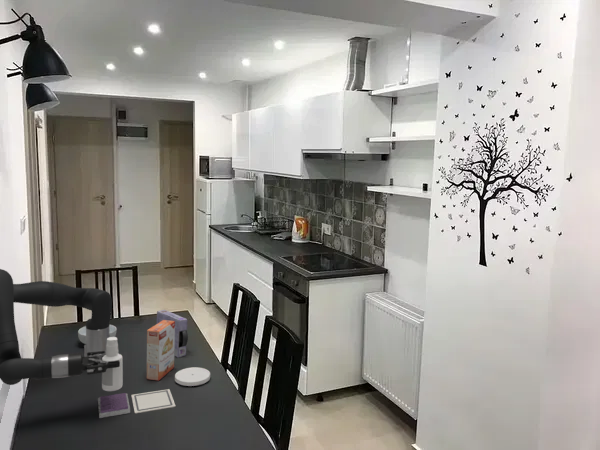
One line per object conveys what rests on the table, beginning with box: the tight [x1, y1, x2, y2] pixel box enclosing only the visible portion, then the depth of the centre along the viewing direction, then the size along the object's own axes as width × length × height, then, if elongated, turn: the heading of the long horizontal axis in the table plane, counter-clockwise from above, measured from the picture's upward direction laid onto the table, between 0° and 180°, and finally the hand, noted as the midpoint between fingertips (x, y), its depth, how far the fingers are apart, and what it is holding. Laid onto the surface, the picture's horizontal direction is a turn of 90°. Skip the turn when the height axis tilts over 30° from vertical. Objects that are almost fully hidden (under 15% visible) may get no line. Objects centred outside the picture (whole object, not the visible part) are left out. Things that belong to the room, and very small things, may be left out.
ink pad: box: [97, 392, 131, 419], centre depth 173 cm, size 10×12×2 cm
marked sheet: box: [131, 388, 176, 414], centre depth 178 cm, size 14×14×1 cm
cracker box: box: [146, 320, 175, 382], centre depth 200 cm, size 14×6×21 cm, turn 168°
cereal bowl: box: [77, 324, 118, 345], centre depth 231 cm, size 17×17×7 cm
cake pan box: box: [156, 309, 189, 359], centre depth 224 cm, size 19×5×18 cm, turn 50°
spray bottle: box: [101, 336, 124, 392], centre depth 171 cm, size 7×7×18 cm
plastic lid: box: [174, 366, 211, 387], centre depth 197 cm, size 14×14×2 cm
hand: (118, 359), depth 171 cm, fingers closed on spray bottle, 7 cm apart
